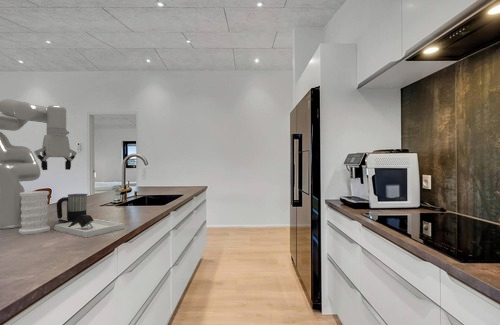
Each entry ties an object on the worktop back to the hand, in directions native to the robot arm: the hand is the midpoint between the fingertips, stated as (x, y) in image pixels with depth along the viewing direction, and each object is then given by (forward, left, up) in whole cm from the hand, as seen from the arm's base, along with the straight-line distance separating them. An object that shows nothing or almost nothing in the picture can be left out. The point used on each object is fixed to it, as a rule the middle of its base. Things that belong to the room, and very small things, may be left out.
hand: (56, 169), depth 129 cm
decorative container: (-9, -5, -28) cm, 30 cm away
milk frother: (-11, +13, -29) cm, 33 cm away
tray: (+11, +9, -28) cm, 32 cm away
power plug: (+7, +7, -28) cm, 30 cm away
